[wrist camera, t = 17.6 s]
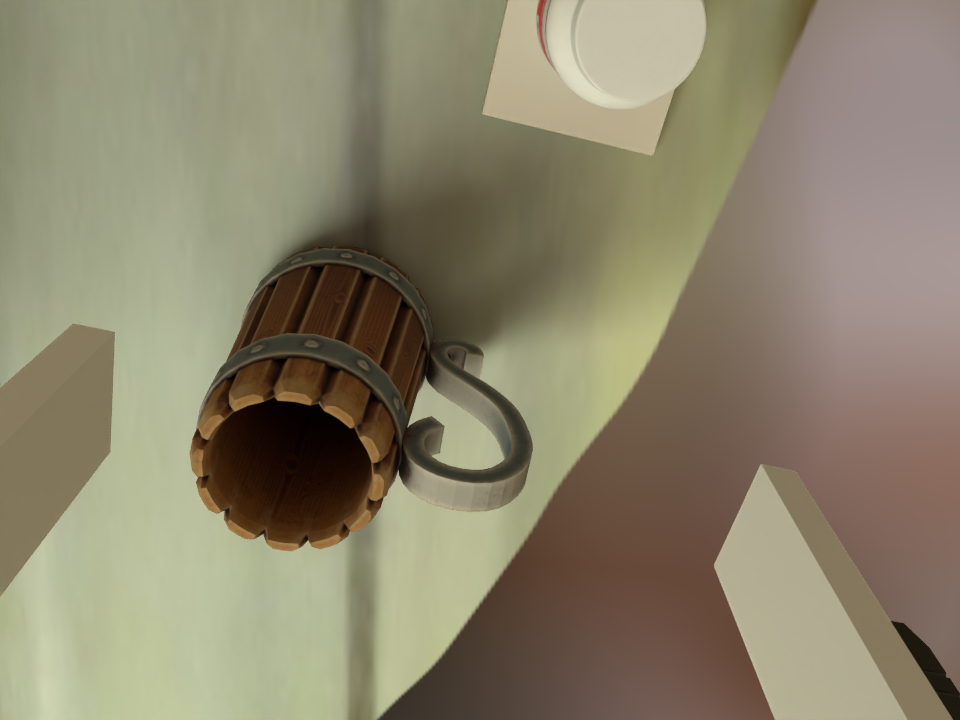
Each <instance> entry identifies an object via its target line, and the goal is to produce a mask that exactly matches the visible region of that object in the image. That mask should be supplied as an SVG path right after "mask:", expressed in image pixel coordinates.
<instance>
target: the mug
mask: <svg viewBox="0 0 960 720" xmlns="http://www.w3.org/2000/svg"><path fill="white" fill-rule="evenodd" d="M408 279H409V277H408V276H407V275H406V274H405V273H404V272H402V271H401V270H400V269H399V268H398V267H397V266H396V265H394V264H392V263H391V262H389V261H388V260H386V259H385V258H383V257H374V256H371V254H370V253H369V252H368V251H367V250H363V249H359V248H355V247H350V246H336V245H334V246H333V247H332V248H331V249H328V248H321V247H316V248H312V249H308V250H304V251H302V252H300V253H297V254H295V255H293V256H291V257H289V258H288V259H287V260H286V261H284V262H282V263H280V264H279V265H277V266H276V267H275V268H274V269H273V270H272V271H271V272H270V273H269V274H268V275H267V276H266V277H265V278H264V279H263V280H262V281H261V282H260V283H259V285H258V287H257V289H256V291H255V293H254V294H253V296H252V298H251V300H250V302H249V304H248V306H247V308H246V311H245V313H244V315H243V320H242V325H241V330H240V332H239V334H238V337H237V339H236V341H235V343H234V345H233V348H232V350H231V352H230V354H229V357H228V359H227V361H226V363H225V364H224V365H223V366H222V367H221V368H220V370H219V371H218V373H217V375H216V377H215V379H214V380H213V382H212V384H211V386H210V388H209V390H208V392H207V394H206V396H205V399H204V401H203V403H202V405H201V407H200V411H199V416H198V422H197V427H196V432H195V434H194V437H193V439H192V444H191V450H190V459H191V466H192V471H193V472H194V473H195V474H196V476H197V477H198V479H197V481H196V484H197V487H198V491H199V495H200V497H201V499H202V501H203V502H204V504H205V505H206V507H207V508H208V509H209V510H210V511H212V512H214V513H220V512H222V511H225V513H224V520H225V522H226V524H227V526H228V528H229V530H231V531H232V532H234V533H236V534H237V535H239V536H241V537H243V538H244V539H255V538H257V537H259V536H260V535H262V534H263V535H264V537H265V540H266V543H267V544H268V545H269V546H270V547H272V548H273V549H278V550H285V551H293V550H296V549H298V548H300V547H302V546H303V545H304V544H305V543H306V542H307V541H308V540H309V542H310V544H311V546H312V547H314V548H319V549H322V548H326V547H330V546H333V545H335V544H338V543H339V542H341V541H342V540H343V539H345V538H346V537H348V535H349V532H350V531H351V532H353V531H359V530H361V529H362V528H363V527H364V526H365V525H367V524H368V523H369V522H370V521H371V520H372V519H373V518H374V516H375V515H376V513H377V512H378V510H379V509H380V508H381V504H382V501H383V498H384V497H385V496H386V495H387V492H388V490H389V488H390V487H391V485H392V484H393V483H394V481H395V478H396V475H397V472H398V469H399V476H400V478H401V480H402V482H403V484H404V485H405V486H406V487H407V489H408V490H409V491H410V492H412V493H413V494H414V495H416V496H417V497H419V498H420V499H422V500H424V501H427V502H429V503H431V504H433V505H436V506H440V507H444V508H447V509H451V510H458V511H467V512H479V511H489V510H493V509H497V508H500V507H502V506H504V505H506V504H508V503H510V502H511V501H512V500H513V499H514V498H516V497H517V496H518V495H519V493H520V492H521V491H522V489H523V487H524V485H525V481H526V477H527V473H528V468H529V464H530V460H531V456H532V451H533V446H532V439H531V436H530V433H529V430H528V428H527V426H526V423H525V421H524V419H523V418H522V416H521V414H520V413H519V411H518V410H517V409H516V408H515V406H514V405H513V404H512V403H511V402H510V401H509V400H508V399H507V398H505V397H504V396H503V395H502V394H500V393H499V392H498V391H497V390H495V389H494V388H492V387H491V386H489V385H488V384H486V383H485V382H483V381H482V380H480V374H481V368H482V363H483V358H484V355H483V352H482V350H481V349H480V348H478V347H477V346H475V345H474V344H471V343H468V342H465V341H460V340H441V341H437V342H435V343H433V328H432V325H431V321H430V315H429V312H428V309H427V306H426V303H425V301H424V299H423V297H422V295H421V293H420V292H419V290H418V289H417V288H415V287H414V286H413V285H412V284H411V283H410V282H409V281H408ZM425 376H426V378H427V381H428V382H429V384H430V385H431V386H432V387H433V388H434V389H435V390H436V391H437V392H439V393H440V394H441V395H443V396H444V397H446V398H447V399H449V400H450V401H452V402H453V403H455V404H456V405H458V406H460V407H461V408H463V409H464V410H466V411H467V412H469V413H470V414H471V415H473V416H474V417H475V418H477V419H478V420H479V421H480V422H481V423H483V424H484V425H485V426H486V427H487V428H488V429H489V430H490V431H491V432H492V434H493V435H494V436H495V438H496V439H497V441H498V443H499V445H500V448H501V451H502V453H503V456H504V461H502V462H501V463H500V464H498V465H496V466H494V467H492V468H488V469H484V470H468V469H461V468H456V467H452V466H449V465H446V464H444V463H441V462H439V461H437V460H436V459H434V458H433V457H432V455H435V454H438V453H440V448H441V443H442V437H443V431H444V426H443V425H442V424H441V423H440V422H438V421H437V420H436V419H435V418H433V417H432V416H431V417H427V418H424V419H421V420H419V421H416V422H415V423H413V424H411V425H410V426H409V427H408V428H407V426H408V423H409V420H410V416H411V413H412V410H413V406H414V403H415V400H416V396H417V393H418V392H419V390H420V389H421V387H422V385H423V382H424V379H425Z"/></svg>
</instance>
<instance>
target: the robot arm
mask: <svg viewBox="0 0 960 720" xmlns="http://www.w3.org/2000/svg"><path fill="white" fill-rule="evenodd" d="M114 340H115V332H112V331H107V330H102V329H97V328H92V327H87V326H82V325H78V324H73V325H71V326H70V327H69V328H68V329H67V330H66V331H65V332H63V333H62V334H61V335H60V336H59V337H58V338H57V339H55V340H54V341H53V342H52V343H51V344H50V345H49V346H48V347H46V348H45V349H44V350H43V351H42V352H41V353H40V354H38V355H37V356H36V357H35V358H34V359H33V360H32V361H30V362H29V363H28V364H27V365H26V366H25V367H24V368H22V369H21V370H20V371H19V372H18V373H17V374H16V375H15V376H13V377H12V378H11V379H10V380H9V381H8V382H7V383H5V384H4V385H3V386H2V387H1V388H0V596H1V595H2V593H3V592H4V591H5V589H6V588H7V587H8V586H9V584H10V583H11V582H12V580H13V579H14V578H15V576H16V575H17V574H18V572H19V571H20V570H21V568H22V567H23V566H24V564H25V563H26V562H27V561H28V559H29V558H30V557H31V555H32V554H33V553H34V551H35V550H36V549H37V547H38V546H39V545H40V543H41V542H42V541H43V539H44V538H45V537H46V536H47V534H48V533H49V532H50V530H51V529H52V528H53V526H54V525H55V524H56V522H57V521H58V520H59V518H60V517H61V516H62V514H63V513H64V512H65V511H66V509H67V508H68V507H69V505H70V504H71V503H72V501H73V500H74V499H75V497H76V496H77V495H78V493H79V492H80V491H81V489H82V488H83V487H84V486H85V484H86V483H87V482H88V480H89V479H90V478H91V476H92V475H93V474H94V472H95V471H96V470H97V468H98V467H99V466H100V464H101V463H102V462H103V461H104V459H105V458H106V457H107V455H108V454H109V453H110V444H111V418H112V392H113V366H114ZM714 567H715V570H716V572H717V575H718V577H719V580H720V582H721V585H722V587H723V590H724V592H725V595H726V598H727V600H728V603H729V605H730V608H731V610H732V613H733V615H734V618H735V620H736V623H737V625H738V628H739V630H740V633H741V635H742V638H743V640H744V643H745V645H746V648H747V650H748V653H749V656H750V658H751V660H752V663H753V666H754V668H755V671H756V673H757V676H758V678H759V681H760V683H761V686H762V688H763V691H764V693H765V696H766V698H767V701H768V703H769V706H770V709H771V711H772V714H773V716H774V718H775V720H960V693H959V692H958V690H957V688H956V687H955V685H954V684H953V682H952V681H951V679H950V678H946V672H945V670H944V669H943V667H942V666H941V665H940V663H939V661H938V660H937V659H936V657H935V655H934V654H933V653H932V651H931V650H930V648H929V647H928V646H927V645H926V644H925V643H924V642H923V641H922V640H921V639H920V638H919V637H918V636H917V635H915V634H914V633H913V632H912V631H911V630H910V629H909V628H908V627H907V626H906V625H905V624H904V623H899V622H894V621H890V619H889V618H888V616H887V615H886V613H885V612H884V610H883V608H882V607H881V606H880V604H879V602H878V601H877V599H876V597H875V596H874V595H873V593H872V591H871V589H870V588H869V586H868V585H867V583H866V582H865V580H864V579H863V577H862V576H861V574H860V572H859V571H858V569H857V568H856V566H855V564H854V563H853V561H852V559H851V558H850V557H849V555H848V553H847V552H846V550H845V548H844V547H843V545H842V544H841V542H840V541H839V539H838V537H837V536H836V534H835V533H834V531H833V530H832V528H831V526H830V525H829V523H828V522H827V520H826V519H825V517H824V515H823V514H822V512H821V511H820V509H819V507H818V506H817V504H816V503H815V501H814V500H813V498H812V496H811V495H810V493H809V492H808V490H807V489H806V487H805V485H804V484H803V482H802V481H801V479H800V477H799V476H798V474H797V473H796V471H793V470H788V469H783V468H778V467H773V466H768V465H763V464H761V465H760V467H759V469H758V472H757V474H756V476H755V478H754V480H753V482H752V484H751V487H750V489H749V491H748V493H747V495H746V497H745V500H744V502H743V504H742V506H741V508H740V510H739V512H738V515H737V517H736V519H735V521H734V523H733V525H732V528H731V530H730V532H729V534H728V536H727V539H726V541H725V543H724V545H723V547H722V549H721V551H720V554H719V556H718V558H717V560H716V562H715V564H714Z"/></svg>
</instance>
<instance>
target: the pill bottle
mask: <svg viewBox="0 0 960 720" xmlns="http://www.w3.org/2000/svg"><path fill="white" fill-rule="evenodd" d="M536 30H537V36H538V40H539V43H540V46H541V49H542V51H543V53H544V55H545V57H546V59H547V60H548V62H549V63H550V65H551V66H552V67H553V69H554V70H555V71H556V72H557V74H558V75H559V77H560V78H561V79H562V81H563V82H564V83H565V84H566V85H567V86H568V87H569V89H570V90H571V91H573V92H574V93H575V94H576V95H577V96H579V97H581V98H583V99H584V100H586V101H588V102H590V103H592V104H595V105H597V106H600V107H604V108H609V109H632V108H638V107H641V106H644V105H647V104H650V103H652V102H655V101H657V100H658V99H660V98H662V97H663V96H665V95H666V94H668V93H669V92H670V91H672V90H673V89H675V88H676V87H677V86H679V85H680V84H681V83H682V82H683V81H684V80H685V79H686V78H687V76H688V75H689V74H690V73H691V72H692V70H693V69H694V67H695V65H696V64H697V62H698V60H699V58H700V55H701V53H702V50H703V47H704V44H705V39H706V31H707V18H706V10H705V3H704V0H538V5H537V11H536Z"/></svg>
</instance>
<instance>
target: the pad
mask: <svg viewBox="0 0 960 720" xmlns="http://www.w3.org/2000/svg"><path fill="white" fill-rule="evenodd" d="M537 5H538V0H507V4H506V9H505V13H504V18H503V22H502V26H501V31H500V35H499V39H498V44H497V48H496V53H495V57H494V61H493V66H492V70H491V74H490V79H489V83H488V88H487V92H486V96H485V101H484V105H483V109H482V114H483V115H487V116H491V117H495V118H499V119H503V120H507V121H512V122H516V123H520V124H524V125H528V126H532V127H536V128H540V129H545V130H549V131H553V132H557V133H561V134H565V135H569V136H573V137H577V138H582V139H586V140H590V141H594V142H598V143H602V144H606V145H610V146H614V147H619V148H623V149H627V150H631V151H635V152H639V153H643V154H647V155H651V156H653V154H654V151H655V148H656V145H657V142H658V139H659V136H660V133H661V130H662V127H663V124H664V121H665V118H666V115H667V112H668V108H669V105H670V102H671V99H672V96H673V93H674V90H675V89H673V90H672V91H670V92H669V93H668V94H666V95H665V96H663V97H662V98H660V99H658V100H657V101H655V102H652V103H650V104H647V105H644V106H641V107H638V108H632V109H609V108H604V107H600V106H597V105H595V104H592V103H590V102H588V101H586V100H584V99H583V98H581V97H579V96H577V95H576V94H575V93H574V92H573V91H571V90H570V89H569V87H568V86H567V85H566V84H565V83H564V82H563V81H562V79H561V78H560V77H559V75H558V74H557V72H556V71H555V70H554V69H553V67H552V66H551V65H550V63H549V62H548V60H547V59H546V57H545V55H544V53H543V51H542V49H541V46H540V43H539V40H538V36H537V30H536V11H537Z"/></svg>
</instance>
